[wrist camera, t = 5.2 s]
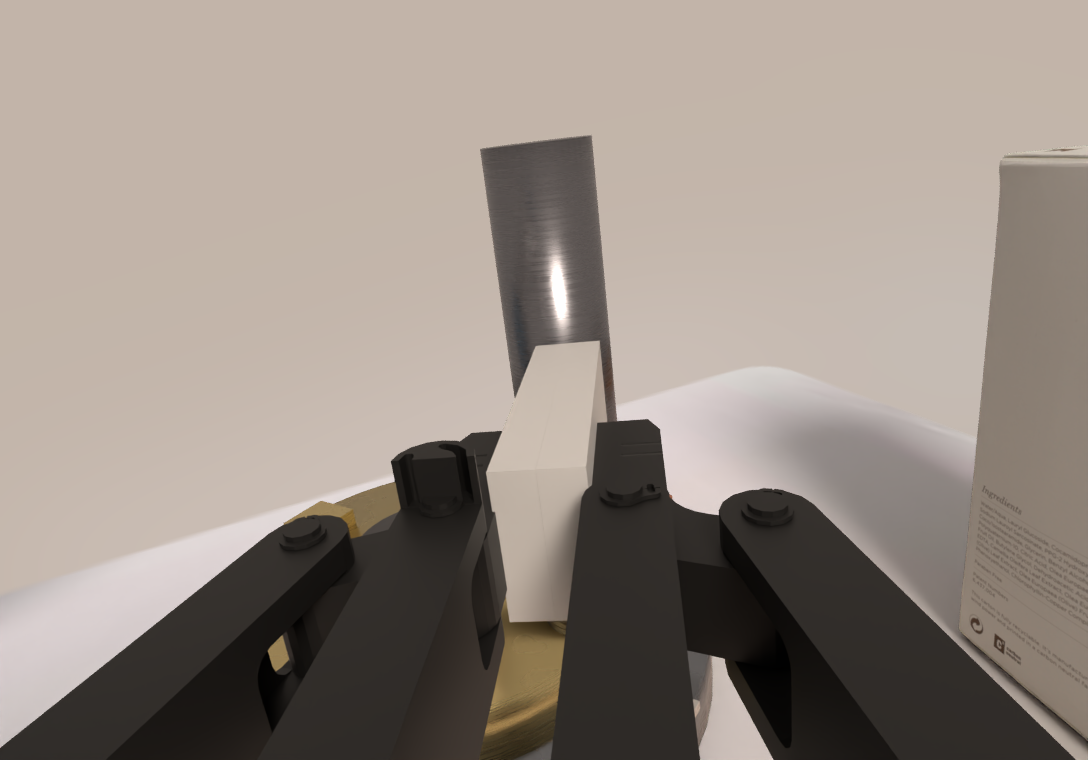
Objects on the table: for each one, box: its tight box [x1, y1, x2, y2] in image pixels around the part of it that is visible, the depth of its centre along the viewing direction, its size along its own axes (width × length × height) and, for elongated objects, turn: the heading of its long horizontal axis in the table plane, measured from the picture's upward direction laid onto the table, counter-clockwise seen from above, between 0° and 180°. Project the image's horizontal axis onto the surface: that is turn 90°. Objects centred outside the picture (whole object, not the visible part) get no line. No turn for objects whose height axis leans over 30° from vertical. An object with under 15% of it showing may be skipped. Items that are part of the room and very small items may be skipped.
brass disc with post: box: [268, 135, 617, 760], centre depth 22 cm, size 14×14×15 cm
